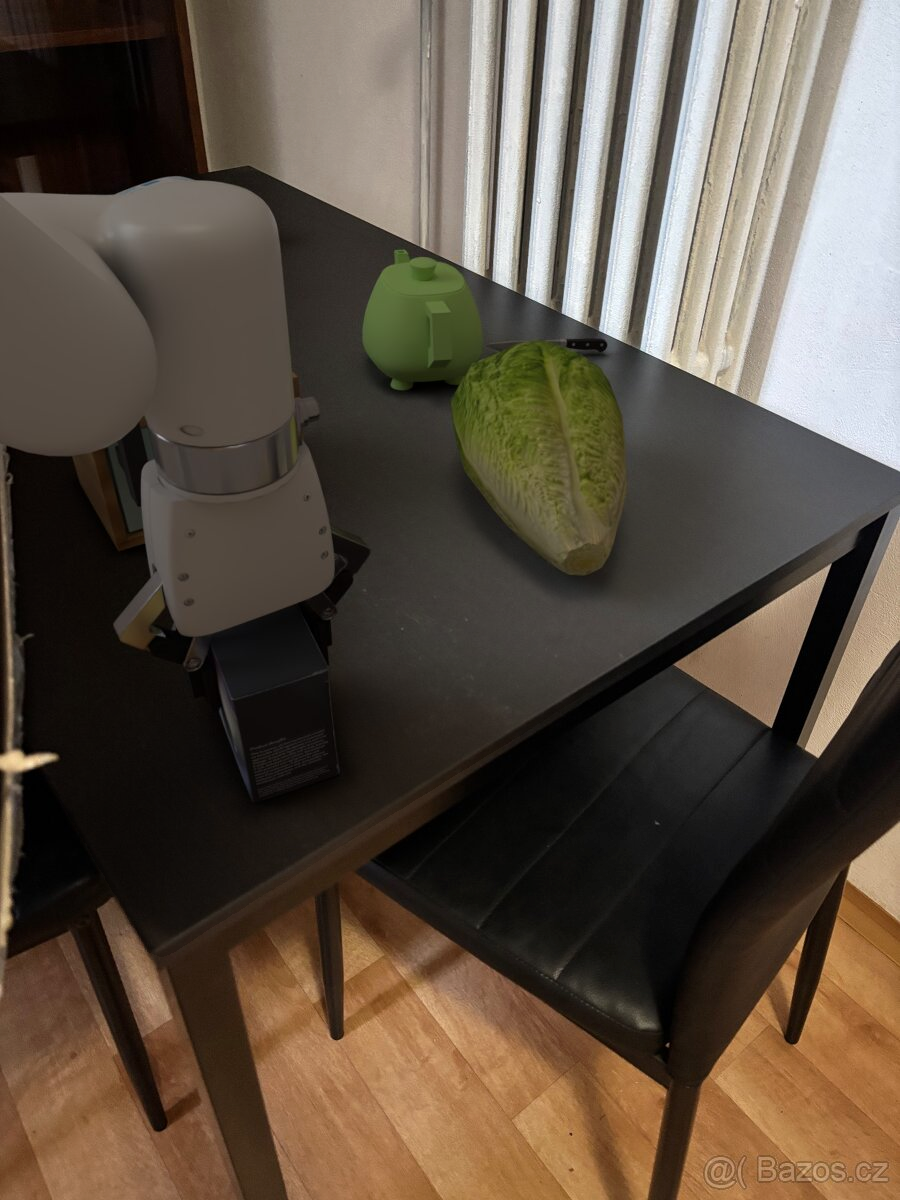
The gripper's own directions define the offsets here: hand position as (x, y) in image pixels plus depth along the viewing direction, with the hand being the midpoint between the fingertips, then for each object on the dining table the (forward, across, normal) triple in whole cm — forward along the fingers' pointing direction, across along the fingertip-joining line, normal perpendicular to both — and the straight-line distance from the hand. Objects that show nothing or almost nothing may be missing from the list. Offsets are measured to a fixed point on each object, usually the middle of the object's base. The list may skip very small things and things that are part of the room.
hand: (262, 674), depth 59 cm
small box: (+6, 0, 0) cm, 6 cm away
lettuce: (+6, -32, -12) cm, 35 cm away
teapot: (+6, -37, -42) cm, 56 cm away
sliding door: (+5, -2, -24) cm, 25 cm away
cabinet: (+6, -6, -32) cm, 33 cm away
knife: (+6, -52, -37) cm, 64 cm away
